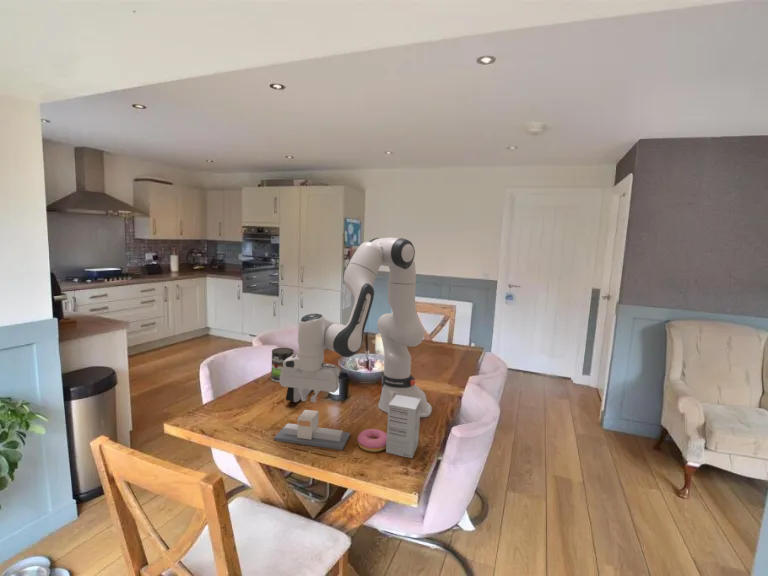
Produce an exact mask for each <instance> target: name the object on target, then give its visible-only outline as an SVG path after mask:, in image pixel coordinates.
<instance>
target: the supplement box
mask: <svg viewBox="0 0 768 576" xmlns="http://www.w3.org/2000/svg"><path fill="white" fill-rule="evenodd" d="M420 411H421V399H419V398H413V397H407V396H402V395H395V397H394V398H393V400H392V401H391V402H390V404H389V406H388V414H387V424H386V425H387V427H386V434H387V441H386V448H385V453H386V454H389V455H395V456H400V457H404V458H408V459H413V457H414V456H415V453H416V450H417V449H418V447H419V446H418V445H419V436H420V418H421V417H420Z"/></svg>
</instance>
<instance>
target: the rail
mask: <svg viewBox="0 0 768 576" xmlns="http://www.w3.org/2000/svg"><path fill="white" fill-rule="evenodd" d="M297 426H298V423H297V424H296V423H288V422H287V424H285V425H284V426H283V428H281V429H280V431H279V432H278V433H277V434H276V435H275V436H274V437H273V441H276V442H283V443H284V442H285V443H291V444H296V445H297V444H299V445H304V446H305V445H306V446H311V447H317V448H325V449H332V450H341V451H344V449H345V447H346V445H347V442H348V441H349V439H350V437H351V432H345V431H343V430H342V429H341V430H340V429H333V428H326V427H319V426H318V427H316V429H315V430H314V431H313V433H312V439H311V440H309V439H302V438H297Z"/></svg>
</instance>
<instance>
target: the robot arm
mask: <svg viewBox="0 0 768 576" xmlns="http://www.w3.org/2000/svg"><path fill="white" fill-rule="evenodd" d="M415 255H416V251H415V246H414V244H413V243H412V241H410V240H409V239H407V238H403V237H401V238H398V237H390V236H389V237H381V238H380V237H374V238H372V239H370V240H369V241H364V242H362V243H361V244H360V245H359V246H358V247H357V249H356V250H355V252H354V253H353V254H352V257H351V258H350V261H349V263H348V265H347V267H346V269H345V271H344V275H343V283H344V285H345V287H346V289H347V290H348V291H349V292H350V294H352V295H353V298H354V303H353V307H352V309H351V313H350V317H349V319H348V321H347V323H346V324H342V323H339V322H337V321H333V320H330V319H328V318H326V317H325V316H324V315H322V313H321V314H320V313H310V314H305V315H303V316H302V317H301V319H300V320H299V324H298V331H297V343H298V349H297V353H296V355H295V354H293V356H291V357H289V358H287V359H286V360H284V361H283V366H284V367H283V368H282V370H281V374H280V382H279V385H280V386H281V387H283V388H284V387H285V388H288V387H292V388H299V389H298V391H299V393H300V395H301V399H300V400H301V402H306V401H307V400H308V396H307V395H305V393H304V391H303V390H304V389H308V390H312V391H313V393H314V394H313V395H311V396H310V402H311V403H316V402H317V396H318V395H319V393H320V392H327V393H335V392H337V391H338V389H340V380H339V379H340V378H339V377H340V375H341V374H340V372H341V371H340V367H338V365H336V364H330V363H326V362H324V355H325V354H324V353H325V350H327V349H328V350H330V351H332V352H335V353H337V355H339V356H342V357H344V358H350V357H353V356H354V355H356V354H358V352H359V351H360V350H361V348H362V346H363V342H364V341H363V340H364V333H365V329H366V325H367V322H368V319H369V315H370V312H371V309H372V306H373V303H374V297H375V289H374V283H375V280H376V278H377V274H378V272H379V270H380V268H381V266H384V267H388V268H389V274H388V291H387V301H388V304H389V306H390V308H391V312H390V313H389V312H388V313H387V312H386V313H384V314H382V315H381V316H380V317H379V318H378V319H377V324H376V326H377V329H378V332H379V335H380V337H381V342H382V346H383V353H384V354H383V355H384V362H383V365H384V366H383V372H382V378H381V393H380V397H379V402H378V404H377V407H378V409H379V410H380V411H383V412H385V413H386V414H387V415H388V406H389V404H390V402H391V401H392V400H393V398H394V397H395V395H402V396H407V397H413V398H419V399H421V411H420V418H427V417H430V416H431V414H432V410H433V409H432V404H430V402H428V401H427V395H426V393H425V392H424V391H423V390H422V389H421V388H419V386H417V385H416V378H415V375H412V374H411V366H412V355H411V353H410V352H409V349H408V347H411V348H412V347H417V346H419V345H420V344H422V342H423V340H424V338H425V329H424V327H423V326H422V324H421V322H420V320H419V316H418V313H417V308H416V307H417V306H416V285H417V283H416V282H417V271H416V262H415V260H414V259H415Z"/></svg>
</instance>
